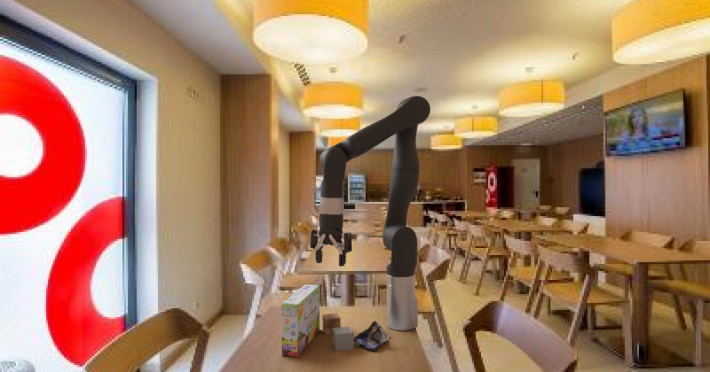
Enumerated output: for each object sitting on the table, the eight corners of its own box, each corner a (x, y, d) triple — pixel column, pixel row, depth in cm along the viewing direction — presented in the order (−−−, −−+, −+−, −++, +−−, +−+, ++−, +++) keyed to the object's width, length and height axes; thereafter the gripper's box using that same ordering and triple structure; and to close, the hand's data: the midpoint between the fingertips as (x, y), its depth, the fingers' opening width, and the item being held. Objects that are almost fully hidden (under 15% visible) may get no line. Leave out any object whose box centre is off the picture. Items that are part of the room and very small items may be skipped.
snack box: (300, 357, 120) (298, 304, 120) (280, 356, 121) (279, 303, 121) (321, 329, 141) (320, 283, 140) (304, 328, 142) (303, 283, 142)
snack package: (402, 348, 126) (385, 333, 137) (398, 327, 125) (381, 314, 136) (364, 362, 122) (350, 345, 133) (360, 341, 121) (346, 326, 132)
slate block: (349, 342, 130) (349, 326, 130) (353, 349, 125) (352, 332, 125) (332, 344, 129) (332, 328, 129) (336, 351, 124) (335, 334, 124)
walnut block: (337, 328, 142) (337, 313, 142) (340, 333, 137) (340, 318, 137) (322, 329, 141) (322, 314, 141) (325, 335, 136) (324, 319, 136)
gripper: (357, 213, 134) (356, 265, 134) (320, 210, 142) (319, 260, 142) (343, 214, 128) (342, 269, 128) (305, 211, 135) (304, 263, 135)
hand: (330, 264), depth 135 cm, fingers open, 8 cm apart
